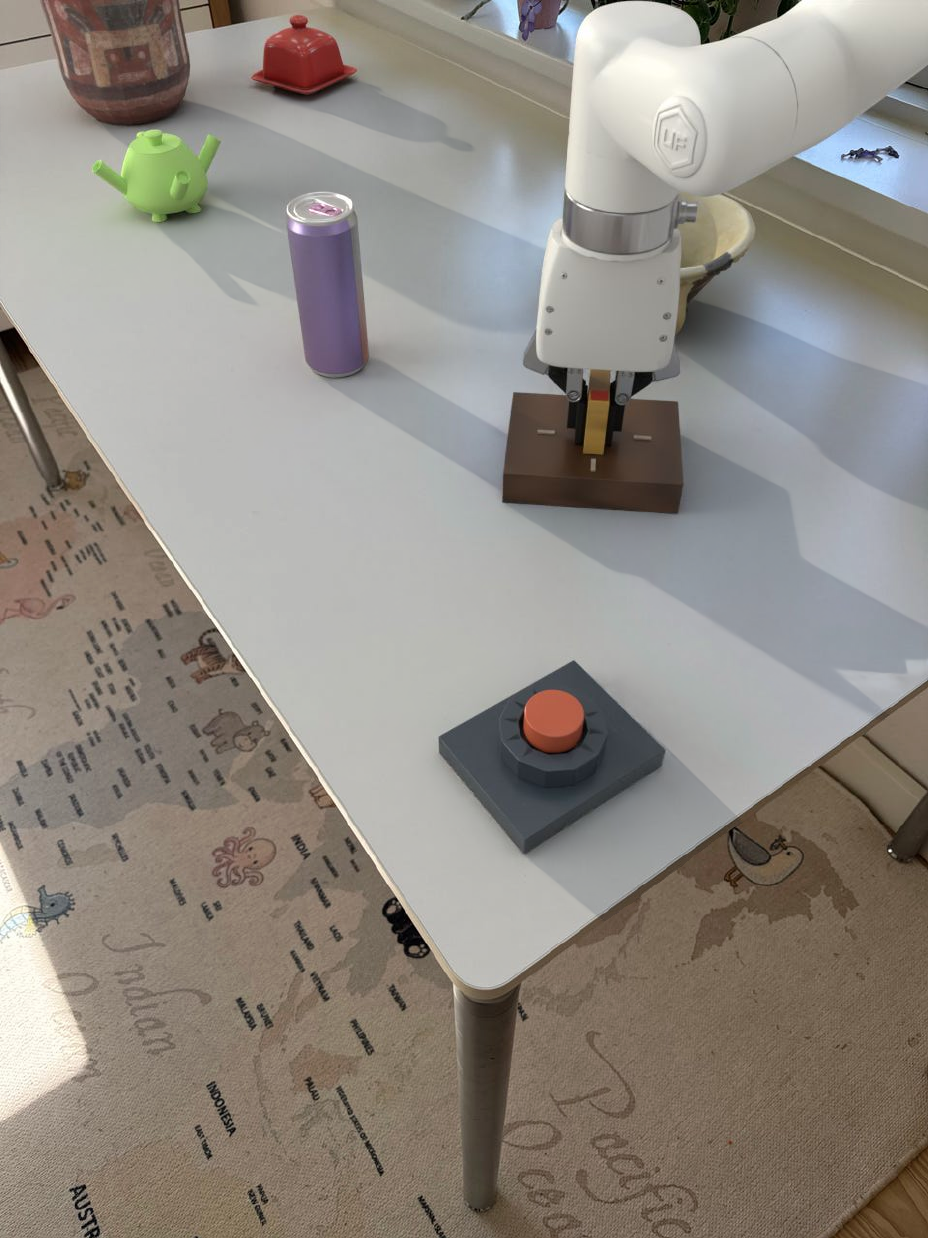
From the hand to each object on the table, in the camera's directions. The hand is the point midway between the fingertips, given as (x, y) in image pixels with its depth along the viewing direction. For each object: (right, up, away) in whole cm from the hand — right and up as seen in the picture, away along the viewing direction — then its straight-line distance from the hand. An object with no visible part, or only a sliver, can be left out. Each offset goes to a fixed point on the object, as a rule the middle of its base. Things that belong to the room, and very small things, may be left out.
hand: (593, 433), depth 82 cm
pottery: (-55, +54, +55) cm, 95 cm away
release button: (-5, -22, -20) cm, 30 cm away
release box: (-5, -24, -18) cm, 30 cm away
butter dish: (-33, +61, +61) cm, 92 cm away
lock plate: (0, -2, +2) cm, 3 cm away
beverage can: (-22, +9, +13) cm, 27 cm away
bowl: (+8, +16, +19) cm, 26 cm away
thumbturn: (0, 0, 0) cm, 0 cm away
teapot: (-44, +32, +34) cm, 65 cm away
